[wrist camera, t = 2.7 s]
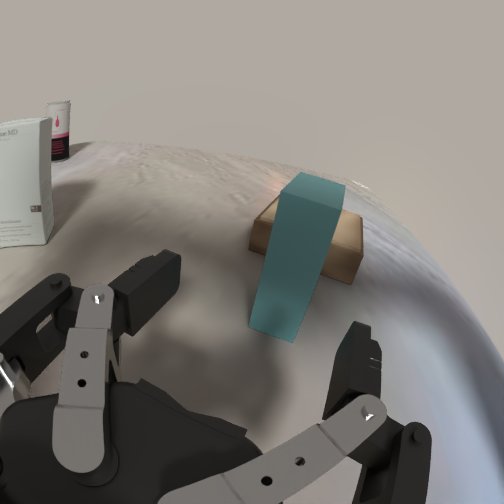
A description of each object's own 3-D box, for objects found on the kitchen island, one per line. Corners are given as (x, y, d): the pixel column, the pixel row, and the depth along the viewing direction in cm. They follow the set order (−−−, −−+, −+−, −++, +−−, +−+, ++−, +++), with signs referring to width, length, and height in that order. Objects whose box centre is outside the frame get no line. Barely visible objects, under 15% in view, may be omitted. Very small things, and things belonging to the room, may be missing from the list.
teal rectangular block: (308, 296, 29) (345, 185, 23) (292, 343, 23) (341, 210, 17) (271, 283, 30) (300, 171, 24) (248, 326, 24) (280, 191, 18)
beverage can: (71, 155, 60) (73, 100, 52) (65, 162, 55) (67, 101, 47) (49, 157, 57) (50, 102, 50) (42, 164, 52) (43, 104, 45)
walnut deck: (354, 240, 43) (363, 215, 41) (351, 284, 32) (364, 252, 30) (276, 215, 46) (282, 189, 43) (248, 249, 35) (255, 216, 32)
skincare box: (-5, 250, 24) (-22, 130, 16) (9, 227, 28) (-2, 122, 21) (49, 245, 27) (39, 118, 20) (58, 222, 32) (53, 113, 24)
